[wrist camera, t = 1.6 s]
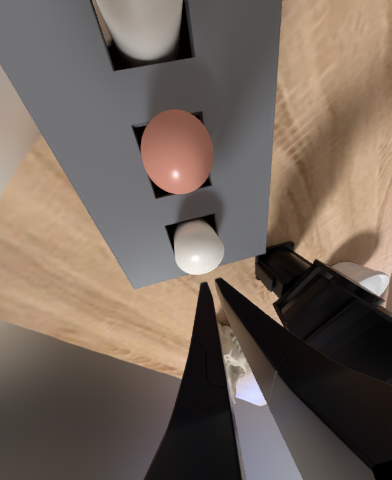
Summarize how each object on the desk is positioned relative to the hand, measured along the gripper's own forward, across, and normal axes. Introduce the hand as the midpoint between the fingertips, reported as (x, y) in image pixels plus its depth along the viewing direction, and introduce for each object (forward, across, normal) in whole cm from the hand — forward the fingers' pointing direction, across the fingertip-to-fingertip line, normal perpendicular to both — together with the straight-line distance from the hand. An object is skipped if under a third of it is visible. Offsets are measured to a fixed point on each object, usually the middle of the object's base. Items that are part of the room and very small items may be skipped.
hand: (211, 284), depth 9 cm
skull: (+11, -4, +36) cm, 37 cm away
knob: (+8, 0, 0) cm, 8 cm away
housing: (+11, 0, -8) cm, 13 cm away
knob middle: (+8, 0, -7) cm, 11 cm away
